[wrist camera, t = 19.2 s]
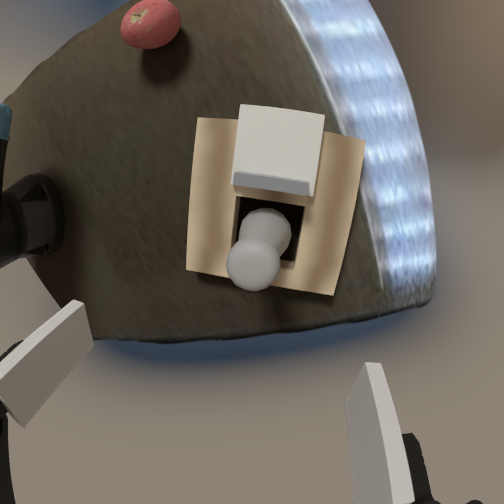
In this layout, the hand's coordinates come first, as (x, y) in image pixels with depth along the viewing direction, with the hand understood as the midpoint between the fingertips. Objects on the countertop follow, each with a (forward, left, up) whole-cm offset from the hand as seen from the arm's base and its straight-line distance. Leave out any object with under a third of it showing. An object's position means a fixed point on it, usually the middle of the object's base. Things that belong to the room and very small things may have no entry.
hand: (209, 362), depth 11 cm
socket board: (0, +3, -23) cm, 24 cm away
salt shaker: (0, 0, -24) cm, 24 cm away
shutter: (0, +9, -20) cm, 22 cm away
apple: (-17, +25, -24) cm, 38 cm away
